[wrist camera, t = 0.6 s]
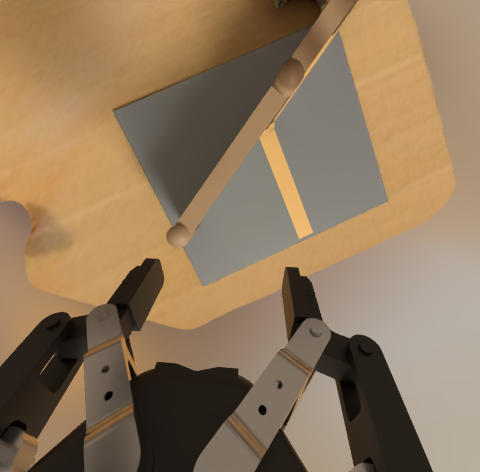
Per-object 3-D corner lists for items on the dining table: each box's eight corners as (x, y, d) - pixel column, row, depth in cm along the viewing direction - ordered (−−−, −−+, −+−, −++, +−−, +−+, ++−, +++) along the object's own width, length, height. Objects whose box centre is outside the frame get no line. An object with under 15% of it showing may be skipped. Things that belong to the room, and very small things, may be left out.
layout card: (113, 110, 32) (111, 108, 32) (332, 15, 33) (334, 11, 33) (203, 285, 39) (203, 286, 38) (386, 200, 40) (389, 200, 39)
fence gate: (251, 125, 34) (271, 81, 21) (262, 135, 35) (289, 98, 22) (181, 225, 36) (162, 239, 23) (194, 233, 36) (181, 252, 23)
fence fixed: (263, 134, 35) (294, 91, 21) (252, 124, 34) (275, 74, 21) (339, 26, 33) (425, -96, 20) (328, 14, 33) (408, -119, 19)
